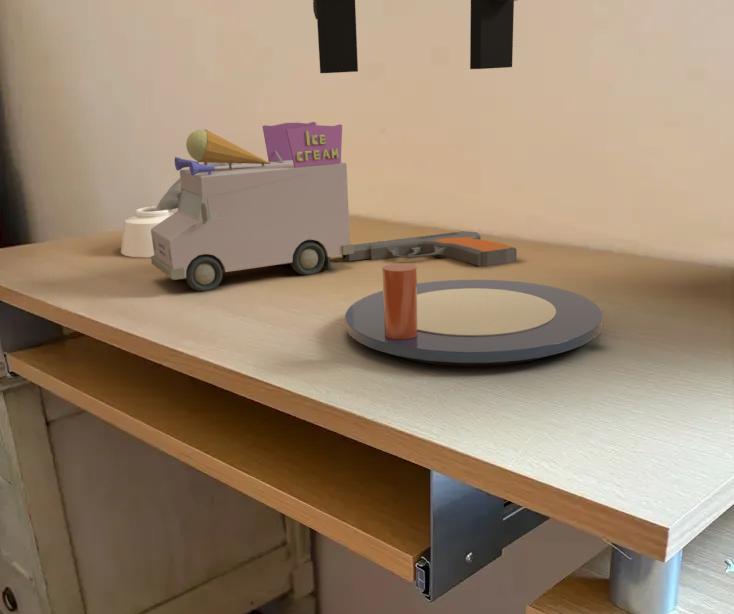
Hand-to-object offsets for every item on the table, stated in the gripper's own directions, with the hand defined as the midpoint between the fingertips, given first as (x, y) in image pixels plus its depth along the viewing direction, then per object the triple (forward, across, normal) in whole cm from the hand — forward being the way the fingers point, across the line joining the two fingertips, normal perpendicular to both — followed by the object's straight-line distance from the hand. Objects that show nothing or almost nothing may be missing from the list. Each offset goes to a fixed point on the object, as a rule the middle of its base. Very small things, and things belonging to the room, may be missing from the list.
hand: (408, 71), depth 52 cm
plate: (+19, -2, +9) cm, 21 cm away
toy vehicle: (+20, -32, +8) cm, 39 cm away
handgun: (+20, -23, +25) cm, 39 cm away
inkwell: (+20, -53, +12) cm, 58 cm away
